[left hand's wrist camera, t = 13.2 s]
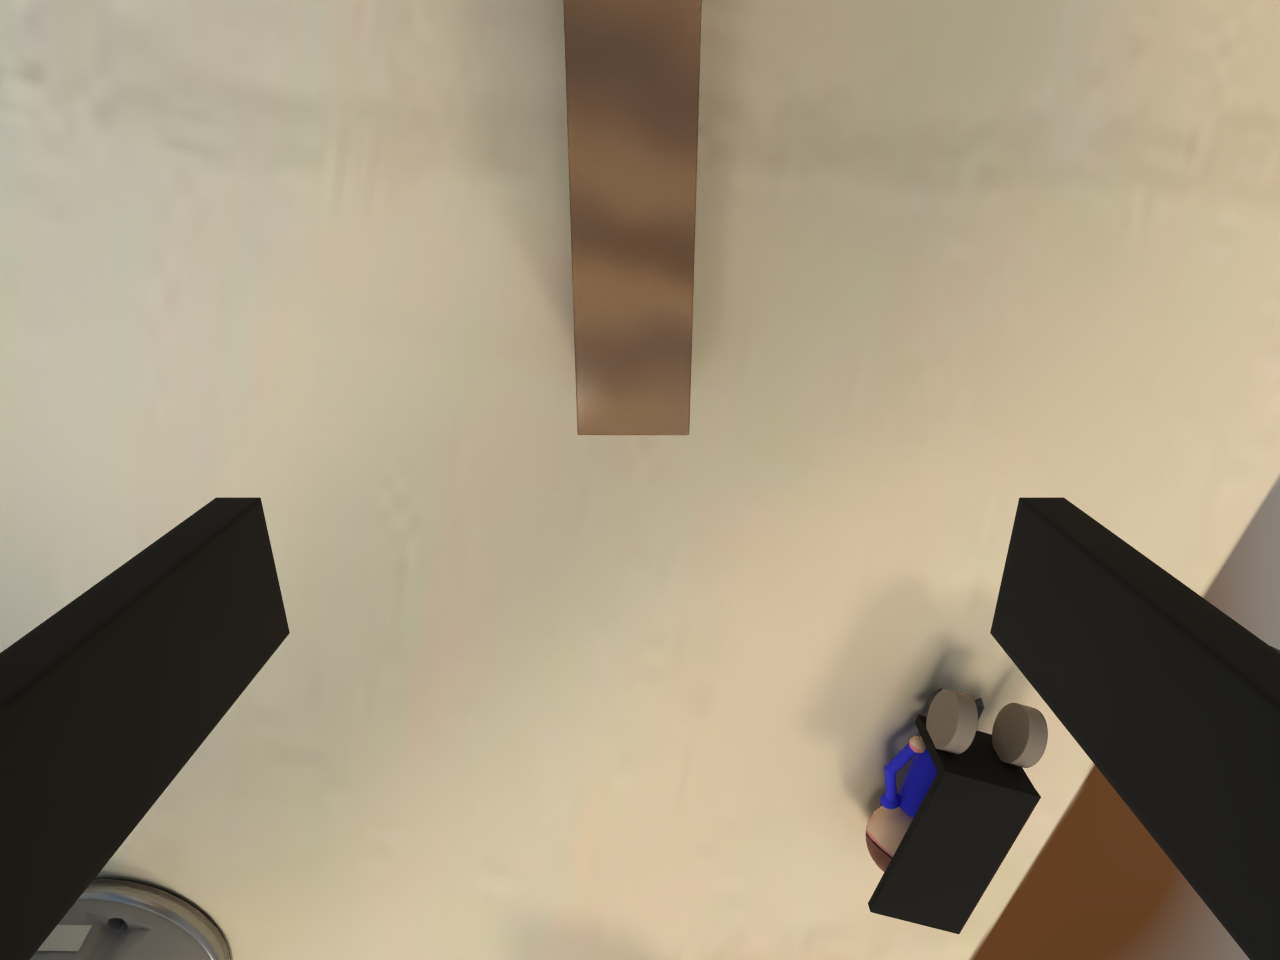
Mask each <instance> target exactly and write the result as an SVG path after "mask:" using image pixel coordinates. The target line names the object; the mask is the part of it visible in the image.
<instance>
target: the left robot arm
mask: <svg viewBox="0 0 1280 960" xmlns="http://www.w3.org/2000/svg"><path fill="white" fill-rule="evenodd" d="M288 634H289V628H288V623H287V619H286V614H285V609H284V605H283V600H282V595H281V591H280V586H279V582H278V577H277V572H276V568H275V563H274V558H273V554H272V549H271V544H270V540H269V535H268V530H267V526H266V521H265V516H264V512H263V507H262V503H261V498H215V499H214V500H212V501H211V502H210V503H208V504H207V505H205V506H204V507H203V508H201V509H200V510H198V511H197V512H196V513H194V514H193V515H192V516H190V517H189V518H187V519H186V520H185V521H183V522H182V523H180V524H179V525H178V526H176V527H175V528H173V529H172V530H171V531H169V532H168V533H167V534H165V535H164V536H162V537H161V538H160V539H158V540H157V541H155V542H154V543H153V544H151V545H150V546H149V547H147V548H146V549H144V550H143V551H142V552H140V553H139V554H137V555H136V556H135V557H133V558H132V559H130V560H129V561H128V562H126V563H125V564H124V565H122V566H121V567H119V568H118V569H117V570H115V571H114V572H112V573H111V574H110V575H108V576H107V577H106V578H104V579H103V580H101V581H100V582H99V583H97V584H96V585H94V586H93V587H92V588H90V589H89V590H87V591H86V592H85V593H83V594H82V595H81V596H79V597H78V598H76V599H75V600H74V601H72V602H71V603H69V604H68V605H67V606H65V607H64V608H63V609H61V610H60V611H58V612H57V613H56V614H54V615H53V616H51V617H50V618H49V619H47V620H46V621H44V622H43V623H42V624H40V625H39V626H38V627H36V628H35V629H33V630H32V631H31V632H29V633H28V634H26V635H25V636H24V637H22V638H21V639H20V640H18V641H17V642H15V643H14V644H13V645H11V646H10V647H8V648H7V649H6V650H4V651H3V652H1V653H0V960H230V954H229V950H228V947H227V945H226V942H225V940H224V939H223V937H222V935H221V934H220V932H219V931H218V929H217V928H216V927H215V926H214V925H213V924H212V922H211V921H210V920H209V919H208V918H207V917H205V916H204V915H203V914H202V913H201V912H200V911H198V910H197V909H196V908H194V907H193V906H191V905H190V904H188V903H187V902H185V901H183V900H182V899H180V898H178V897H176V896H174V895H172V894H170V893H167V892H165V891H162V890H160V889H157V888H154V887H151V886H148V885H144V884H140V883H136V882H131V881H124V880H115V879H94V878H95V877H96V876H97V875H98V873H99V872H100V871H101V870H102V868H103V867H104V866H105V864H106V863H107V862H108V861H109V859H110V858H111V857H112V856H113V854H114V853H115V852H116V851H117V849H118V848H119V847H120V846H121V844H122V843H123V842H124V841H125V839H126V838H127V837H128V836H129V834H130V833H131V832H132V831H133V829H134V828H135V827H136V826H137V824H138V823H139V822H140V820H141V819H142V818H143V817H144V815H145V814H146V813H147V812H148V810H149V809H150V808H151V807H152V805H153V804H154V803H155V802H156V800H157V799H158V798H159V797H160V795H161V794H162V793H163V792H164V790H165V789H166V788H167V787H168V785H169V784H170V783H171V781H172V780H173V779H174V778H175V776H176V775H177V774H178V773H179V771H180V770H181V769H182V768H183V766H184V765H185V764H186V763H187V761H188V760H189V759H190V758H191V756H192V755H193V754H194V753H195V751H196V750H197V749H198V748H199V746H200V745H201V744H202V742H203V741H204V740H205V739H206V737H207V736H208V735H209V734H210V732H211V731H212V730H213V729H214V727H215V726H216V725H217V724H218V722H219V721H220V720H221V719H222V717H223V716H224V715H225V714H226V712H227V711H228V710H229V709H230V707H231V706H232V705H233V704H234V702H235V701H236V700H237V698H238V697H239V696H240V695H241V693H242V692H243V691H244V690H245V688H246V687H247V686H248V685H249V683H250V682H251V681H252V680H253V678H254V677H255V676H256V675H257V673H258V672H259V671H260V670H261V668H262V667H263V666H264V665H265V663H266V662H267V661H268V659H269V658H270V657H271V656H272V654H273V653H274V652H275V651H276V649H277V648H278V647H279V646H280V644H281V643H282V642H283V641H284V639H285V638H286V637H287V636H288ZM991 634H992V636H993V637H994V638H995V639H996V641H997V642H998V643H999V644H1000V646H1001V647H1002V648H1003V649H1004V651H1005V652H1006V653H1007V654H1008V656H1009V657H1010V658H1011V659H1012V661H1013V662H1014V663H1015V665H1016V666H1017V667H1018V668H1019V670H1020V671H1021V672H1022V673H1023V675H1024V676H1025V677H1026V678H1027V680H1028V681H1029V682H1030V683H1031V685H1032V686H1033V687H1034V688H1035V690H1036V691H1037V692H1038V693H1039V695H1040V696H1041V697H1042V698H1043V700H1044V701H1045V702H1046V704H1047V705H1048V706H1049V707H1050V709H1051V710H1052V711H1053V712H1054V714H1055V715H1056V716H1057V717H1058V719H1059V720H1060V721H1061V722H1062V724H1063V725H1064V726H1065V727H1066V729H1067V730H1068V731H1069V732H1070V734H1071V735H1072V736H1073V737H1074V739H1075V740H1076V741H1077V742H1078V744H1079V745H1080V746H1081V748H1082V749H1083V750H1084V751H1085V753H1086V754H1087V755H1088V756H1089V758H1090V759H1091V760H1092V761H1093V763H1094V764H1095V765H1096V766H1097V768H1098V769H1099V770H1100V771H1101V773H1102V774H1103V775H1104V776H1105V778H1106V779H1107V780H1108V781H1109V783H1110V784H1111V785H1112V786H1113V788H1114V789H1115V790H1116V791H1117V793H1118V794H1119V795H1120V797H1121V798H1122V799H1123V800H1124V802H1125V803H1126V804H1127V805H1128V807H1129V808H1130V809H1131V810H1132V812H1133V813H1134V814H1135V815H1136V817H1137V818H1138V819H1139V820H1140V822H1141V823H1142V824H1143V825H1144V827H1145V828H1146V829H1147V830H1148V832H1149V833H1150V834H1151V835H1152V837H1153V838H1154V839H1155V841H1156V842H1157V843H1158V844H1159V846H1160V847H1161V848H1162V849H1163V851H1164V852H1165V853H1166V854H1167V856H1168V857H1169V858H1170V859H1171V861H1172V862H1173V863H1174V864H1175V866H1176V867H1177V868H1178V870H1179V871H1180V872H1181V873H1182V875H1183V876H1184V877H1185V878H1186V880H1187V881H1188V882H1189V883H1190V885H1191V886H1192V887H1193V888H1194V890H1195V891H1196V892H1197V893H1198V895H1199V896H1200V897H1201V898H1202V900H1203V901H1204V902H1205V903H1206V905H1207V906H1208V907H1209V909H1210V910H1211V911H1212V912H1213V914H1214V915H1215V916H1216V917H1217V919H1218V920H1219V921H1220V922H1221V924H1222V925H1223V926H1224V927H1225V929H1226V930H1227V931H1228V932H1229V934H1230V935H1231V936H1232V937H1233V939H1234V940H1235V941H1236V942H1237V944H1238V945H1239V946H1240V948H1241V949H1242V950H1243V951H1244V953H1245V954H1246V955H1247V956H1248V958H1249V959H1250V960H1280V650H1278V649H1276V648H1274V647H1271V646H1269V645H1267V644H1266V643H1265V642H1263V641H1262V640H1260V639H1259V638H1258V637H1256V636H1255V635H1254V634H1252V633H1251V632H1249V631H1248V630H1247V629H1245V628H1244V627H1242V626H1241V625H1240V624H1238V623H1237V622H1235V621H1234V620H1233V619H1231V618H1230V617H1229V616H1227V615H1226V614H1224V613H1223V612H1222V611H1220V610H1219V609H1217V608H1216V607H1215V606H1213V605H1212V604H1211V603H1209V602H1208V601H1206V600H1205V599H1204V598H1202V597H1201V596H1199V595H1198V594H1197V593H1195V592H1194V591H1193V590H1191V589H1190V588H1188V587H1187V586H1186V585H1184V584H1183V583H1181V582H1180V581H1179V580H1177V579H1176V578H1174V577H1173V576H1172V575H1170V574H1169V573H1168V572H1166V571H1165V570H1163V569H1162V568H1161V567H1159V566H1158V565H1156V564H1155V563H1154V562H1152V561H1151V560H1150V559H1148V558H1147V557H1145V556H1144V555H1143V554H1141V553H1140V552H1138V551H1137V550H1136V549H1134V548H1133V547H1131V546H1130V545H1129V544H1127V543H1126V542H1125V541H1123V540H1122V539H1120V538H1119V537H1118V536H1116V535H1115V534H1113V533H1112V532H1111V531H1109V530H1108V529H1107V528H1105V527H1104V526H1102V525H1101V524H1100V523H1098V522H1097V521H1095V520H1094V519H1093V518H1091V517H1090V516H1088V515H1087V514H1086V513H1084V512H1083V511H1082V510H1080V509H1079V508H1077V507H1076V506H1075V505H1073V504H1072V503H1070V502H1069V501H1068V500H1066V499H1065V498H1019V503H1018V507H1017V512H1016V516H1015V521H1014V526H1013V530H1012V535H1011V540H1010V544H1009V549H1008V554H1007V558H1006V563H1005V568H1004V572H1003V577H1002V582H1001V586H1000V591H999V595H998V600H997V605H996V609H995V614H994V619H993V623H992V628H991Z"/></svg>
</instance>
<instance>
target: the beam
mask: <svg viewBox="0 0 1280 960" xmlns="http://www.w3.org/2000/svg"><path fill="white" fill-rule="evenodd" d="M701 4H702V0H564V31H565V62H566V92H567V123H568V154H569V185H570V215H571V246H572V277H573V308H574V338H575V369H576V400H577V431H578V435H689V422H690V387H691V353H692V318H693V283H694V248H695V213H696V179H697V144H698V109H699V74H700V39H701Z"/></svg>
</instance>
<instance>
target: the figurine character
mask: <svg viewBox="0 0 1280 960" xmlns="http://www.w3.org/2000/svg"><path fill="white" fill-rule="evenodd" d="M983 709H984V706H983V702H982V699H981V698H979V699H977V700H975V701H974V700H973V698H972V697H971V696H970V695H968V694H964V693H961V692H957V691H953V690H950V689H944V690H941V688H940V689H939V690H937V691H936V692H935V693H933V694H932V697H931V699H930V701H929V704H928V706H927V708H926V711H925V713H924V715H923V716H921V715H918V717H917V718H916V720H915V724H916V726H917V728H918V730H919V733H920V735H921V737H920V736H913V737H912V738H911V739H910V741H909V744H908V745H907V746H906V747H904V748H903V749H902V750H901V751H900V752H899V753H898V754H897V755H896V756H895V757H894V758H893V759H892V760H891V761H890V762H889V763H888V764H887V765H885V788H886V793H885V794H883V795H882V796H881V799H880V802H881V804H882V805H881V806H880V807H878V808H877V809H876V810H875V811H874V812H873V813H872V815H871V816H870V818H869V821H868V823H867V827H866V842H867V847H868V850H869V852H870V855H871V857H872V858H873V860H874V861H875V863H876V864H877V865H878V867H879V868H880V869H881V870H883V871H884V872H885V873H884V874H883V876H882V878H881V880H880V882H879V884H878V886H877V888H876V889H875V891H874V893H873V895H872V897H871V899H870V901H869V903H868V905H869V908H870V911H871V912H873V913H877V914H881V915H885V916H889V917H893V918H897V919H901V920H905V921H909V922H913V923H917V924H921V925H925V926H928V927H932V928H936V929H940V930H944V931H948V932H952V933H956V934H960V932H961V930H962V929H963V927H964V925H965V923H966V922H967V920H968V918H969V917H970V915H971V913H972V912H973V910H974V908H975V907H976V905H977V903H978V902H979V900H980V898H981V897H982V895H983V893H984V892H985V890H986V888H987V887H988V885H989V883H990V882H991V880H992V878H993V877H994V875H995V873H996V872H997V870H998V868H999V867H1000V865H1001V863H1002V862H1003V860H1004V858H1005V857H1006V855H1007V853H1008V852H1009V850H1010V848H1011V846H1012V845H1013V843H1014V841H1015V840H1016V838H1017V836H1018V835H1019V833H1020V831H1021V830H1022V828H1023V826H1024V825H1025V823H1026V821H1027V820H1028V818H1029V816H1030V815H1031V813H1032V811H1033V810H1034V808H1035V806H1036V805H1037V803H1038V801H1039V800H1040V798H1041V796H1040V795H1039V794H1038V792H1037V791H1036V790H1035V788H1034V786H1033V785H1032V783H1031V781H1030V780H1029V778H1028V777H1027V775H1026V773H1025V772H1024V770H1023V768H1022V767H1024V768H1028V767H1031V766H1033V765H1035V764H1036V763H1037V762H1038V761H1039V760H1040V758H1041V757H1042V755H1043V753H1044V751H1045V748H1046V744H1047V738H1048V730H1047V724H1046V720H1045V718H1044V716H1043V715H1042V713H1041V712H1040V711H1039V710H1037V709H1035V708H1031V707H1028V706H1024V705H1021V704H1017V703H1010V704H1008V705H1006V706H1005V707H1003V708H1002V710H1001V711H1000V712H999V714H998V715H997V717H996V720H995V723H994V726H993V732H992V735H991V734H987V733H983V732H980V731H976V729H977V723H978V720H979V718H980V716H981V714H982V711H983ZM914 755H915V756H914ZM913 756H914V758H913V760H912V763H911V765H910V767H909V770H908V772H907V774H906V777H905V779H904V781H903V783H902V786H901V788H900V790H899V793H898V794H897V793H896V772H897V771H898V770H899V769H901V768H902V767H903V766H904V765H905V764H906V763H907V762H908V761H909V760H910V759H911V758H912V757H913Z"/></svg>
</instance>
